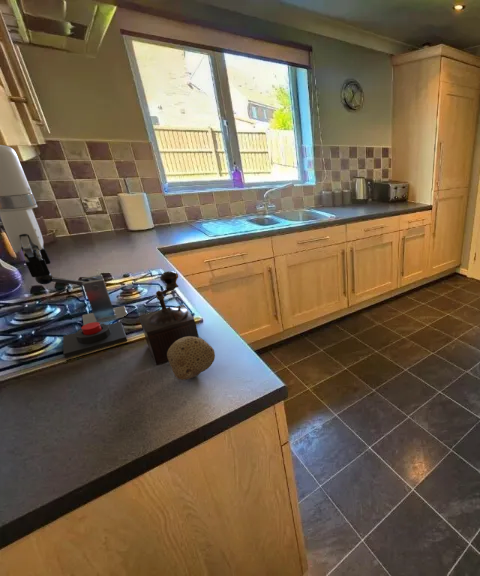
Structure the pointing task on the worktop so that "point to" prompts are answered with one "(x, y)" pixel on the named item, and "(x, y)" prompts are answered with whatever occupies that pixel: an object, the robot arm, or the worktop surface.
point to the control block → (93, 340)
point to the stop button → (91, 328)
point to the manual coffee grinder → (167, 323)
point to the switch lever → (58, 280)
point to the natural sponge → (190, 357)
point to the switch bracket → (100, 302)
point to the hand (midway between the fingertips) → (42, 269)
